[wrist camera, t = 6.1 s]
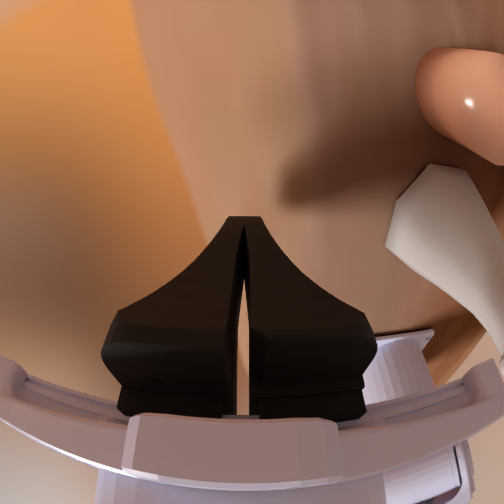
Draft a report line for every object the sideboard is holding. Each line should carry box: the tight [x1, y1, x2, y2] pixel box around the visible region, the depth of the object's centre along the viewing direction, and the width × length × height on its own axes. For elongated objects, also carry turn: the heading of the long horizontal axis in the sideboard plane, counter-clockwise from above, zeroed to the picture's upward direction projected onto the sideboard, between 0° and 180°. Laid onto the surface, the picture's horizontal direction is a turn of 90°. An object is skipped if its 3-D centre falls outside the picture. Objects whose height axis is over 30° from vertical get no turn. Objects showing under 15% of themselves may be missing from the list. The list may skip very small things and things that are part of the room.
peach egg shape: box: [415, 48, 504, 166], centre depth 7 cm, size 5×5×4 cm
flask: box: [385, 164, 504, 375], centre depth 9 cm, size 7×7×10 cm
